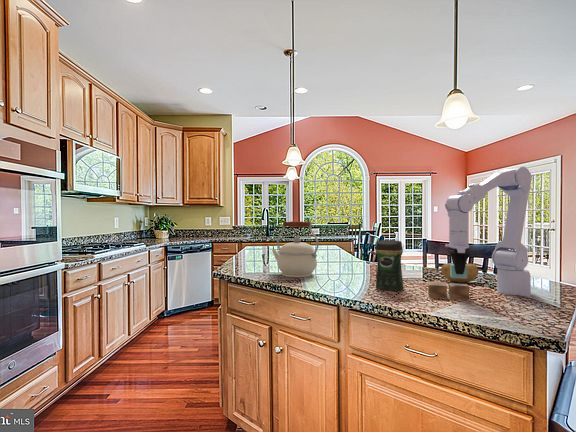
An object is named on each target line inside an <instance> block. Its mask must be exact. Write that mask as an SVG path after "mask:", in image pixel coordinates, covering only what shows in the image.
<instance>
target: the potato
mask: <svg viewBox="0 0 576 432" xmlns="http://www.w3.org/2000/svg"><path fill="white" fill-rule="evenodd" d="M450 264H453V263H452V262H451V263H450V262H449V263H444V264H442V266H441V268H440V270H441V271H440V272H441V274H442V275H443V276H444V278H446V279H447V280H448V281H450V282H453V283H456V284H465V283H470V282H472V281H474V280H475V279H476V278H477V277H478V275H479V268H478V266H477V265H475V264H473V263H466V266H467V279H465V278H451V276H450Z"/></svg>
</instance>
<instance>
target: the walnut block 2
mask: <svg viewBox="0 0 576 432" xmlns="http://www.w3.org/2000/svg"><path fill="white" fill-rule="evenodd" d="M448 295H449V297H450V299H449V300H457V299H463V300H462V301H470V300H469V298H470V287H469V285H468V284H467V283H456V282H453V283H452V282H450V283H448Z"/></svg>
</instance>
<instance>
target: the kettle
mask: <svg viewBox="0 0 576 432" xmlns="http://www.w3.org/2000/svg"><path fill="white" fill-rule="evenodd" d="M312 225H313V224H312V221H292V220H291V221H286V220H285V221H283V223H282V230H281V231H280V233H279V235H278V236H277V239H276V245H277V248H278V251H277V250H276V249H271V252H272V255H273V256H274V259H275V260H276V262H277V263H276V264H277V269H279V271H280V272H281V275H282V276H283V277H287V278H296V279H297V278H298V279H299V278H309V277H311V276H312V275H313V272H314V271H315V270H316V268H317V265H318V260H317V257H318V255H317V252H318V249H319V244H320V243H319V239H318V237H317V236H316V234H315V233H314V232H313V230H312V229H313V228H312ZM286 227H291V228H304V227H307V228H309V232H310V233H311V234H312V236H313V237H314V239H315V241H316V247H315V248H314V247H313V246H312V245H311V244H310V243H307V242H301V241H302V239H301V237H299V236H295V237H293V239H292V241H293V242H287V243H285V244H283V245H282V246H281V247H280V238H281V236H282V235H283V233H284V232H285V230H286Z"/></svg>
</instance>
